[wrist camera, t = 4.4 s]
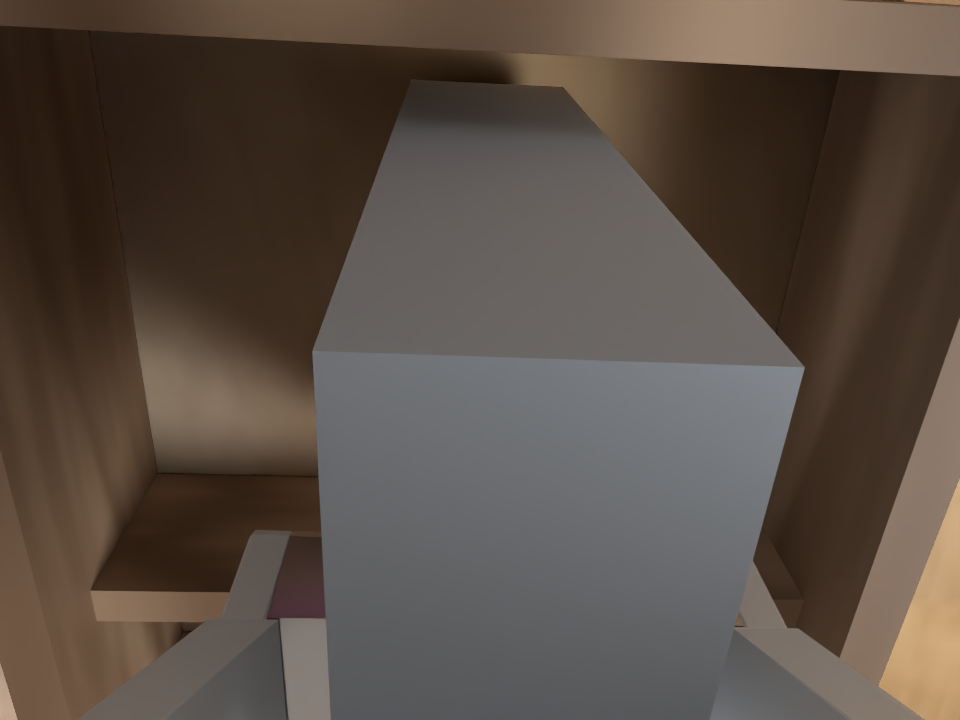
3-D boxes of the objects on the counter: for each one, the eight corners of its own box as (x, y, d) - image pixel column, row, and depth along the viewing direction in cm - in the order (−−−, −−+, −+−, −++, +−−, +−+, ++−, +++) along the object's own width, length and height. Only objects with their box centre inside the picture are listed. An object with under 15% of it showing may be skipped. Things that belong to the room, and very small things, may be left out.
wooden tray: (906, 1, 19) (1139, 17, 12) (730, 658, 28) (811, 856, 22) (20, -51, 17) (-220, -62, 11) (150, 653, 27) (60, 860, 21)
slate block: (563, 87, 18) (805, 366, 6) (528, 450, 23) (619, 1052, 10) (410, 79, 18) (311, 351, 5) (406, 446, 22) (347, 1054, 10)
